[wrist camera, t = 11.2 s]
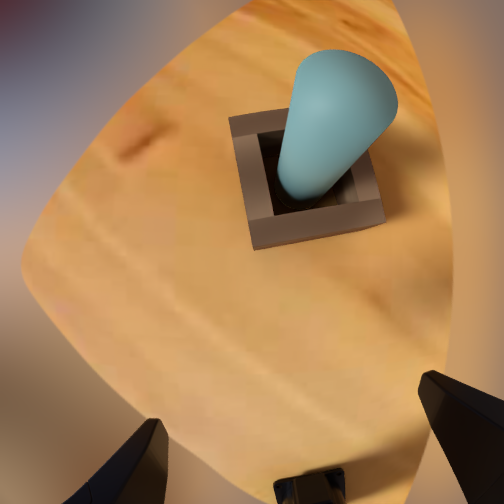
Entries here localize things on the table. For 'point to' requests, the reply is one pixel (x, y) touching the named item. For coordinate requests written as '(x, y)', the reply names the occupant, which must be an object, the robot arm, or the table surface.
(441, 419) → the robot arm
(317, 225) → the hole block
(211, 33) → the table surface
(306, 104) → the teal cylinder rod
